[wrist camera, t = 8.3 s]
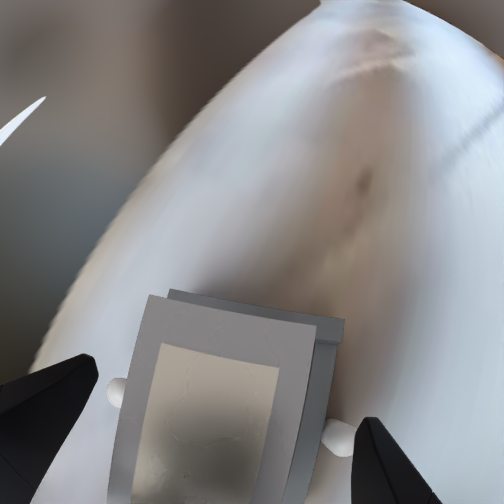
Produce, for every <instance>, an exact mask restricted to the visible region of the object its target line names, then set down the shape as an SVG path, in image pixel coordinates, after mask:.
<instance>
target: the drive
mask: <svg viewBox="0 0 504 504" xmlns="http://www.w3.org/2000/svg"><path fill="white" fill-rule="evenodd" d="M316 327H317V326H314V325H307V324H300V323H294V322H287V321H281V320H275V319H269V318H263V317H257V316H252V315H246V314H241V313H235V312H230V311H225V310H219V309H214V308H209V307H204V306H199V305H195V304H190V303H185V302H180V301H176V300H171V299H167V298H162V297H158V296H154V295H149V297H148V301H147V304H146V307H145V311H144V314H143V318H142V322H141V325H140V329H139V333H138V336H137V340H136V344H135V348H134V352H133V356H132V360H131V364H130V368H129V373H128V377H127V382H126V386H125V391H124V395H123V400H122V405H121V410H120V415H119V420H118V426H117V431H116V437H115V443H114V449H113V455H112V462H111V469H110V477H109V485H108V494H107V503H106V504H281V501H282V497H283V494H284V490H285V486H286V482H287V478H288V474H289V470H290V466H291V462H292V458H293V453H294V449H295V444H296V440H297V435H298V431H299V426H300V421H301V416H302V411H303V406H304V401H305V395H306V390H307V384H308V378H309V373H310V367H311V360H312V354H313V348H314V341H315V334H316Z"/></svg>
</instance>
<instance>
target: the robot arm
mask: <svg viewBox="0 0 504 504" xmlns="http://www.w3.org/2000/svg"><path fill="white" fill-rule="evenodd" d="M98 376H99V374H98V370H97V366H96V362H95V359H94V358H93V357H92V356H90V355H87V354H80V355H78V356H75V357H73V358H70V359H67V360H65V361H62V362H60V363H57V364H55V365H52V366H49V367H47V368H44V369H42V370H39V371H36V372H34V373H31V374H28V375H26V376H23V377H20V378H18V379H15V380H12V381H10V382H7V383H4V385H3V384H1V385H0V504H30V502H31V500H32V498H33V496H34V494H35V492H36V490H37V488H38V487H39V485H40V483H41V481H42V479H43V477H44V476H45V474H46V472H47V470H48V468H49V467H50V465H51V463H52V461H53V460H54V458H55V456H56V454H57V453H58V451H59V449H60V448H61V446H62V444H63V443H64V441H65V439H66V438H67V436H68V434H69V433H70V431H71V429H72V428H73V426H74V424H75V423H76V421H77V419H78V418H79V416H80V414H81V413H82V411H83V409H84V407H85V405H86V403H87V401H88V399H89V397H90V394H91V392H92V390H93V388H94V386H95V384H96V382H97V380H98ZM351 504H442V502H441V501H440V500H439V499H438V497H437V496H436V495H435V493H434V492H432V489H431V488H430V487H429V485H428V484H427V483H426V481H425V480H424V479H423V477H422V476H421V475H420V473H419V472H418V471H417V469H416V468H415V467H414V465H413V464H412V463H411V461H410V460H409V459H408V457H407V456H406V455H405V453H404V452H403V451H402V449H401V448H400V447H399V445H398V444H397V443H396V441H395V440H394V439H393V437H392V436H391V435H390V433H389V432H388V431H387V429H386V428H385V427H384V425H383V424H382V423H381V421H380V420H379V419H378V418H377V417H365V418H364V419H363V421H362V422H361V424H360V426H359V427H358V429H357V431H356V433H355V437H354V449H353V461H352V472H351Z"/></svg>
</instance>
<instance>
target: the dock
mask: <svg viewBox="0 0 504 504" xmlns="http://www.w3.org/2000/svg"><path fill="white" fill-rule="evenodd" d="M167 299H171V300H176V301H180V302H185V303H190V304H195V305H199V306H204V307H209V308H214V309H219V310H225V311H230V312H235V313H241V314H246V315H252V316H257V317H263V318H269V319H275V320H281V321H287V322H294V323H300V324H307V325H314V326H317V327H316V334H315V341H314V348H313V354H312V360H311V367H310V373H309V378H308V384H307V390H306V395H305V401H304V406H303V411H302V416H301V421H300V426H299V431H298V435H297V440H296V444H295V449H294V453H293V458H292V462H291V466H290V470H289V474H288V478H287V482H286V486H285V490H284V494H283V497H282V501H281V504H304V502H305V499H306V495H307V492H308V488H309V485H310V481H311V477H312V473H313V469H314V465H315V461H316V457H317V453H318V449H319V445H320V441H321V442H322V443H323V444H324V445H325V446H326V447H327V448H328V449H329V450H330V451H331V452H332V453H334V454H335V455H336V456H339V457H347V456H350V455H353V449H354V437H355V433H356V431H357V428H355V427H353V426H350V425H348V424H346V423H344V422H341V421H339V420H337V419H327V420H325V416H326V411H327V406H328V401H329V395H330V390H331V384H332V378H333V371H334V365H335V358H336V351H337V345H338V344H339V343H341V342H342V338H343V330H344V321H345V319H338V318H331V317H324V316H317V315H311V314H304V313H298V312H292V311H285V310H279V309H273V308H268V307H262V306H256V305H250V304H245V303H239V302H234V301H229V300H224V299H218V298H213V297H208V296H203V295H198V294H193V293H189V292H184V291H179V290H174V289H170V290H169V293H168V297H167ZM126 382H127V379H125V378H115V379H113V380H111V381H110V383H109V384H108V386H107V397H108V399H109V401H110V403H111V404H112V405H113V406H115V407H117V408H120V409H121V405H122V400H123V395H124V391H125V386H126Z"/></svg>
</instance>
